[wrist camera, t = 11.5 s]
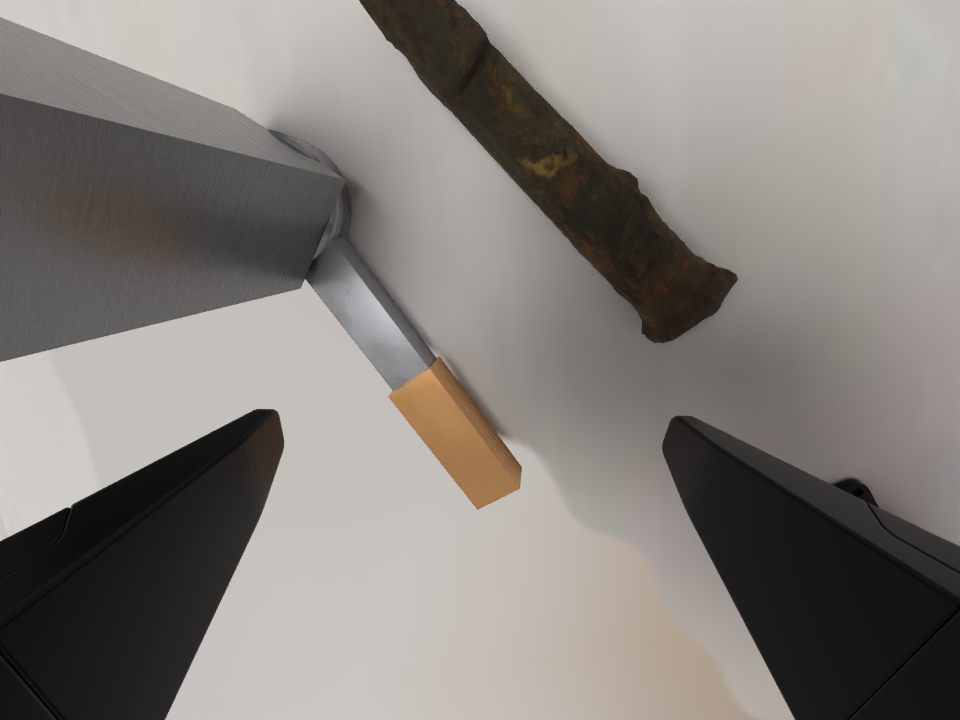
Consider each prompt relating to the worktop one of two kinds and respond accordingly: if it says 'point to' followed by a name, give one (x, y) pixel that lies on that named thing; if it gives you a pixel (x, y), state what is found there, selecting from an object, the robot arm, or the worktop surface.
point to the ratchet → (407, 361)
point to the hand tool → (556, 166)
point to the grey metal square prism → (137, 199)
